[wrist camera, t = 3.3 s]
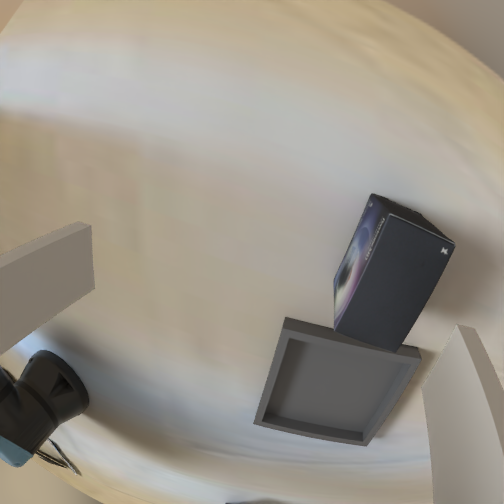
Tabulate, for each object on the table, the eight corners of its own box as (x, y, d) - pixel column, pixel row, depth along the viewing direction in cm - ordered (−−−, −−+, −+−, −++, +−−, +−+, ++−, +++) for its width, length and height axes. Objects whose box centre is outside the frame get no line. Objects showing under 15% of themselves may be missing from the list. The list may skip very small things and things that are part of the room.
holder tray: (365, 434, 40) (366, 446, 38) (256, 411, 42) (253, 423, 40) (417, 347, 34) (421, 359, 32) (285, 316, 36) (282, 328, 34)
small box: (367, 189, 30) (387, 208, 21) (422, 214, 30) (460, 243, 20) (329, 281, 34) (329, 332, 24) (381, 300, 33) (398, 356, 24)
